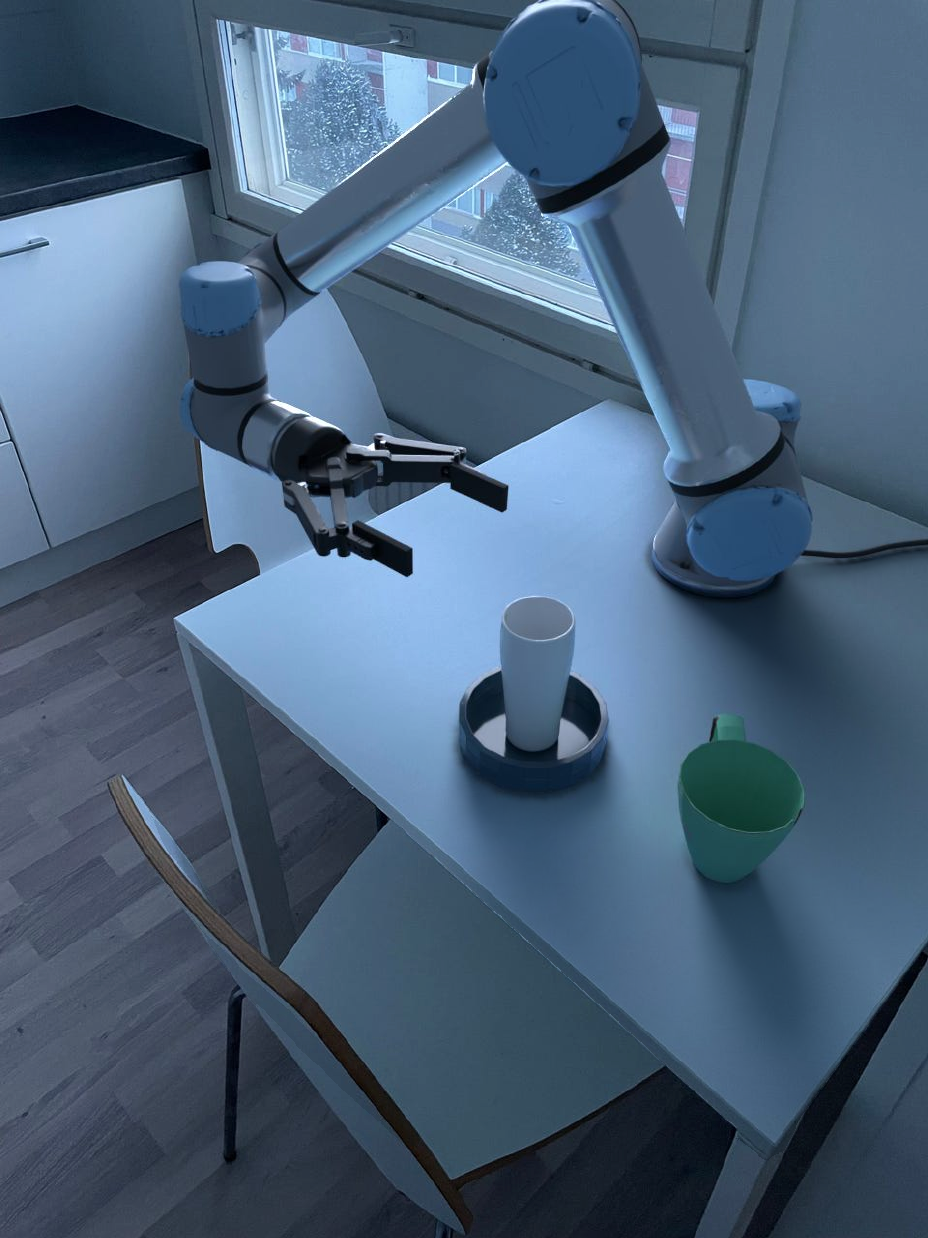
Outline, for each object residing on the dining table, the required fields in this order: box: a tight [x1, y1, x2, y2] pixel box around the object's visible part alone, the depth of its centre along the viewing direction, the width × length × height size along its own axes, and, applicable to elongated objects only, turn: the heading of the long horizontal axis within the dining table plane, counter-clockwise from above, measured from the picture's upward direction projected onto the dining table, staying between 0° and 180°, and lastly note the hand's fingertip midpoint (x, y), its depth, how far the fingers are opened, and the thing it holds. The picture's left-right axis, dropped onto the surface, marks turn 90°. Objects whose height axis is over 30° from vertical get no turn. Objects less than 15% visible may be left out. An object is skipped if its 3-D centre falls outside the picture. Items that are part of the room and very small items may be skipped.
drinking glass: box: [499, 595, 576, 752], centre depth 84 cm, size 7×7×15 cm
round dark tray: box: [458, 665, 610, 794], centre depth 88 cm, size 14×14×4 cm
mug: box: [677, 712, 806, 884], centre depth 76 cm, size 15×10×10 cm
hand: (460, 529), depth 81 cm, fingers open, 13 cm apart
